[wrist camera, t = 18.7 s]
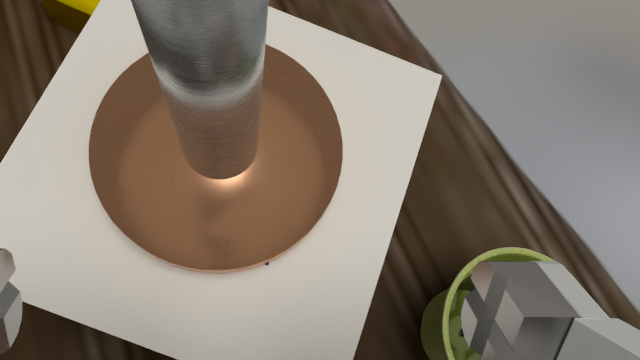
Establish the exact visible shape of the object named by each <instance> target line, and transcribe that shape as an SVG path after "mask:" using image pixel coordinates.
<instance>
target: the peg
mask: <svg viewBox="0 0 640 360" xmlns="http://www.w3.org/2000/svg"><path fill="white" fill-rule="evenodd" d="M268 1H269V0H131V2H132V5H133V8H134V11H135V14H136V17H137V20H138V23H139V25H140V28H141V31H142V34H143V37H144V40H145V43H146V46H147V49H148V52H149V53H147V54H145V55H144V56H142V57H141V58H140V59H138V60H137V61H135V62H134V63H133V64H131V65H130V66H129V67H128V68H127V69H126V70H125V71H124V72H123V73H122V74H121V75H120V76H119V77H118V78H117V79H116V80H115V82H114V83H113V84H112V85H111V86H110V88H109V89H108V91H107V93H106V94H105V96H104V97H103V99H102V101H101V103H100V105H99V107H98V109H97V112H96V114H95V117H94V120H93V124H92V127H91V132H90V139H89V166H90V173H91V178H92V181H93V185H94V188H95V191H96V194H97V196H98V198H99V200H100V202H101V204H102V206H103V208H104V209H105V211H106V212H107V214H108V215H109V217H110V218H111V220H112V221H113V222H114V223H115V225H116V226H117V227H118V228H119V229H120V230H121V231H122V232H123V233H124V234H125V235H126V236H127V237H128V238H130V239H131V240H132V241H133V242H134V243H136V244H137V245H138V246H139V247H140V248H142V249H143V250H144V251H146V252H147V253H149V254H150V255H152V256H154V257H155V258H157V259H158V260H161V261H163V262H165V263H167V264H170V265H172V266H174V267H178V268H181V269H185V270H188V271H193V272H200V273H210V274H225V273H234V272H241V271H245V270H249V269H253V268H256V267H259V266H262V265H264V264H267V263H270V262H271V261H273V260H275V259H277V258H279V257H281V256H283V255H284V254H286V253H287V252H288V251H290V250H291V249H293V248H294V247H295V246H297V245H298V244H299V243H300V242H301V241H302V240H303V239H304V238H305V237H306V236H307V235H308V234H309V233H310V232H311V230H312V229H313V228H314V227H315V225H316V224H317V223H318V221H319V220H320V218H321V217H322V215H323V214H324V212H325V210H326V209H327V207H328V205H329V204H330V202H331V200H332V197H333V195H334V193H335V191H336V188H337V185H338V181H339V178H340V174H341V167H342V160H343V143H342V136H341V129H340V125H339V122H338V118H337V115H336V112H335V110H334V108H333V106H332V103H331V101H330V99H329V98H328V96H327V94H326V93H325V91H324V89H323V88H322V87H321V85H320V84H319V83H318V82H317V80H316V79H315V78H314V77H313V76H312V75H311V74H310V73H309V72H308V71H307V70H306V69H305V68H304V67H303V66H302V65H301V64H299V63H298V62H297V61H295V60H294V59H293V58H291V57H290V56H288V55H286V54H285V53H283V52H281V51H280V50H278V49H276V48H274V47H271V46H269V45H267V44H265V42H266V29H267V15H268Z"/></svg>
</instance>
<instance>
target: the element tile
mask: <svg viewBox="0 0 640 360" xmlns="http://www.w3.org/2000/svg"><path fill="white" fill-rule="evenodd" d="M40 1H41V3H42V4H43V6H44V8H45V9H46V11H47V12H48V14H49V15H50V16H51V18H52V19H53V20H54V21H55V22H57V23H58V24H59V25H61V26H64V27H66V28H68V29H71V30H73V31H75V32H78V33H81V32H82V30H83V28H84V27H85V25H86V23H87V22H88V20H89V19H90V17H91V15H92V14H93V12H94V10H95V9H96V7H97V6H98V4H99V2H100V1H101V0H40Z"/></svg>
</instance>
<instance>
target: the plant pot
mask: <svg viewBox="0 0 640 360" xmlns="http://www.w3.org/2000/svg"><path fill="white" fill-rule="evenodd" d="M479 261H512V262H529V261H554V260H552V259H551V258H549V257H547V256H545V255H543V254H540V253H538V252H535V251H532V250H529V249H524V248H517V247H506V248H498V249H494V250H491V251H488V252H485V253H483V254H481V255H479V256H477V257H476V258H474V259H473V260H471V261H470V262H469V263H468V264H466V265H465V266H464V267H463V268H462V269H461V271H460V272H459V273H458V274H457V276H456V277H455V279H454V280H453V282H452V284H451V286H450V287H449V288H448V289H446V290H445V291H443V292H441V293H440V294H438V295H437V296H436V297H434V298H433V299H432V300H431V301H430V303H429V304H428V305H427V307H426V308H425V310H424V313H423V317H422V322H421V332H420V335H421V342H422V345H423V348H424V350H425V352H426V354H427V356H428V358H429V359H430V360H480V359H481V358H482V356H480V355H479V354H478V353H476V352H475V351H474V350H472V349H471V348H470V347H469V346H468V343H467V341H466V339H465V337H464V336H463V337H462V336H460V335H459V331H460V330H461V329H462V322H461V311H462V307H463V303H464V299H465V297H466V296H467V295H468V294H469V293H470V292H472V291H473V290H474V289H475V286H474V284H473V282H472V280H471V276H472V273H473V270H474V267H475V266H476V265H477V263H478V262H479ZM575 280H576V279H575ZM576 281H577V280H576ZM577 282H578V281H577ZM578 283H579V282H578Z"/></svg>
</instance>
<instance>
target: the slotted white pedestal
mask: <svg viewBox="0 0 640 360" xmlns="http://www.w3.org/2000/svg"><path fill="white" fill-rule="evenodd" d="M265 44H267V45H269V46H271V47H274V48H276V49H278V50H280V51H281V52H283V53H285V54H286V55H288V56H290V57H291V58H293V59H294V60H295V61H297V62H298V63H299V64H301V65H302V66H303V67H304V68H305V69H306V70H307V71H308V72H309V73H310V74H311V75H312V76H313V77H314V78H315V79H316V80H317V82H318V83H319V84H320V85H321V87H322V88H323V89H324V91H325V93H326V94H327V96H328V98H329V99H330V101H331V103H332V106H333V108H334V110H335V112H336V115H337V118H338V122H339V125H340V129H341V136H342V143H343V160H342V167H341V174H340V178H339V181H338V185H337V188H336V191H335V193H334V195H333V197H332V200H331V202H330V204H329V205H328V207H327V209H326V210H325V212H324V214H323V215H322V217H321V218H320V220H319V221H318V223H317V224H316V225H315V227H314V228H313V229H312V230H311V232H310V233H309V234H308V235H307V236H306V237H305V238H304V239H303V240H302V241H301V242H300V243H299V244H298V245H297V246H295V247H294V248H293V249H291V250H290V251H288V252H287V253H286V254H284V255H283V256H281V257H279V258H277V259H275V260H273V261H271V262H270V263H269V264H268V266H267V265H265V264H264V265H262V266H259V267H256V268H253V269H249V270H245V271H241V272H234V273H225V274H210V273H200V272H193V271H188V270H185V269H181V268H178V267H174V266H172V265H170V264H167V263H165V262H163V261H161V260H158V259H157V258H155V257H154V256H152V255H150V254H149V253H147V252H146V251H144V250H143V249H142V248H140V247H139V246H138V245H137V244H136V243H134V242H133V241H132V240H131V239H130V238H128V237H127V236H126V235H125V234H124V233H123V232H122V231H121V230H120V229H119V228H118V227H117V226H116V225H115V223H114V222H113V221H112V220H111V218H110V217H109V215H108V214H107V212H106V211H105V209H104V208H103V206H102V204H101V202H100V200H99V198H98V196H97V194H96V191H95V188H94V185H93V181H92V178H91V173H90V166H89V139H90V132H91V127H92V124H93V120H94V117H95V114H96V112H97V109H98V107H99V105H100V103H101V101H102V99H103V97H104V96H105V94H106V93H107V91H108V89H109V88H110V86H111V85H112V84H113V83H114V82H115V80H116V79H117V78H118V77H119V76H120V75H121V74H122V73H123V72H124V71H125V70H126V69H127V68H128V67H129V66H130V65H131V64H133V63H134V62H135V61H137V60H138V59H140V58H141V57H142V56H144V55H145V54H147V53H149V52H148V49H147V46H146V43H145V40H144V37H143V34H142V31H141V28H140V25H139V23H138V20H137V17H136V14H135V11H134V8H133V5H132V2H131V0H101V1H100V2H99V4H98V6H97V7H96V9H95V10H94V12H93V14H92V15H91V17H90V19H89V20H88V22H87V23H86V25H85V27H84V28H83V30H82V32H81V33H80V35H79V37H78V38H77V40H76V41H75V43H74V45H73V46H72V48H71V50H70V51H69V53H68V54H67V56H66V58H65V59H64V61H63V63H62V64H61V66H60V67H59V69H58V71H57V72H56V74H55V76H54V77H53V79H52V80H51V82H50V84H49V85H48V87H47V89H46V90H45V92H44V93H43V95H42V97H41V98H40V100H39V102H38V103H37V105H36V106H35V108H34V110H33V111H32V113H31V115H30V116H29V118H28V119H27V121H26V123H25V124H24V126H23V128H22V129H21V131H20V132H19V134H18V136H17V137H16V139H15V141H14V142H13V144H12V146H11V147H10V149H9V150H8V152H7V154H6V155H5V157H4V159H3V160H2V162H1V163H0V248H3V249H7V250H8V251H9V252H11V253H12V256H13V260H14V264H15V268H16V270H15V272H14V273H13V275H12V276H11V278H10V279H9V282H10V283H11V284H12V285H14V286H15V287H16V288H17V289H18V290H19V291H20V293H21V299H22V301H23V302H26V303H28V304H31V305H34V306H36V307H39V308H42V309H44V310H47V311H50V312H52V313H55V314H58V315H60V316H63V317H66V318H68V319H71V320H74V321H76V322H79V323H82V324H84V325H87V326H90V327H92V328H95V329H98V330H100V331H103V332H106V333H108V334H111V335H114V336H116V337H119V338H122V339H124V340H127V341H130V342H132V343H135V344H137V345H140V346H143V347H145V348H148V349H151V350H153V351H156V352H159V353H161V354H164V355H167V356H169V357H172V358H175V359H177V360H353V358H354V354H355V351H356V348H357V345H358V342H359V338H360V335H361V332H362V329H363V326H364V323H365V319H366V316H367V313H368V310H369V307H370V304H371V300H372V297H373V294H374V291H375V288H376V284H377V281H378V278H379V275H380V272H381V269H382V265H383V262H384V259H385V256H386V253H387V250H388V246H389V243H390V240H391V237H392V234H393V231H394V227H395V224H396V221H397V218H398V215H399V211H400V208H401V205H402V202H403V199H404V196H405V192H406V189H407V186H408V183H409V180H410V177H411V173H412V170H413V167H414V164H415V161H416V157H417V154H418V151H419V148H420V145H421V142H422V138H423V135H424V132H425V129H426V126H427V123H428V119H429V116H430V113H431V110H432V107H433V104H434V100H435V97H436V94H437V91H438V88H439V84H440V81H441V78H442V75H439V74H437V73H434V72H432V71H429V70H427V69H424V68H422V67H419V66H417V65H414V64H412V63H409V62H407V61H404V60H402V59H399V58H397V57H394V56H392V55H389V54H387V53H384V52H382V51H379V50H377V49H374V48H372V47H369V46H367V45H364V44H362V43H359V42H357V41H354V40H352V39H349V38H347V37H344V36H342V35H339V34H337V33H334V32H332V31H329V30H327V29H324V28H322V27H319V26H317V25H314V24H312V23H309V22H307V21H304V20H302V19H299V18H297V17H294V16H292V15H289V14H287V13H284V12H282V11H279V10H277V9H274V8H272V7H269V6H268V15H267V29H266V42H265Z"/></svg>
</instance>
